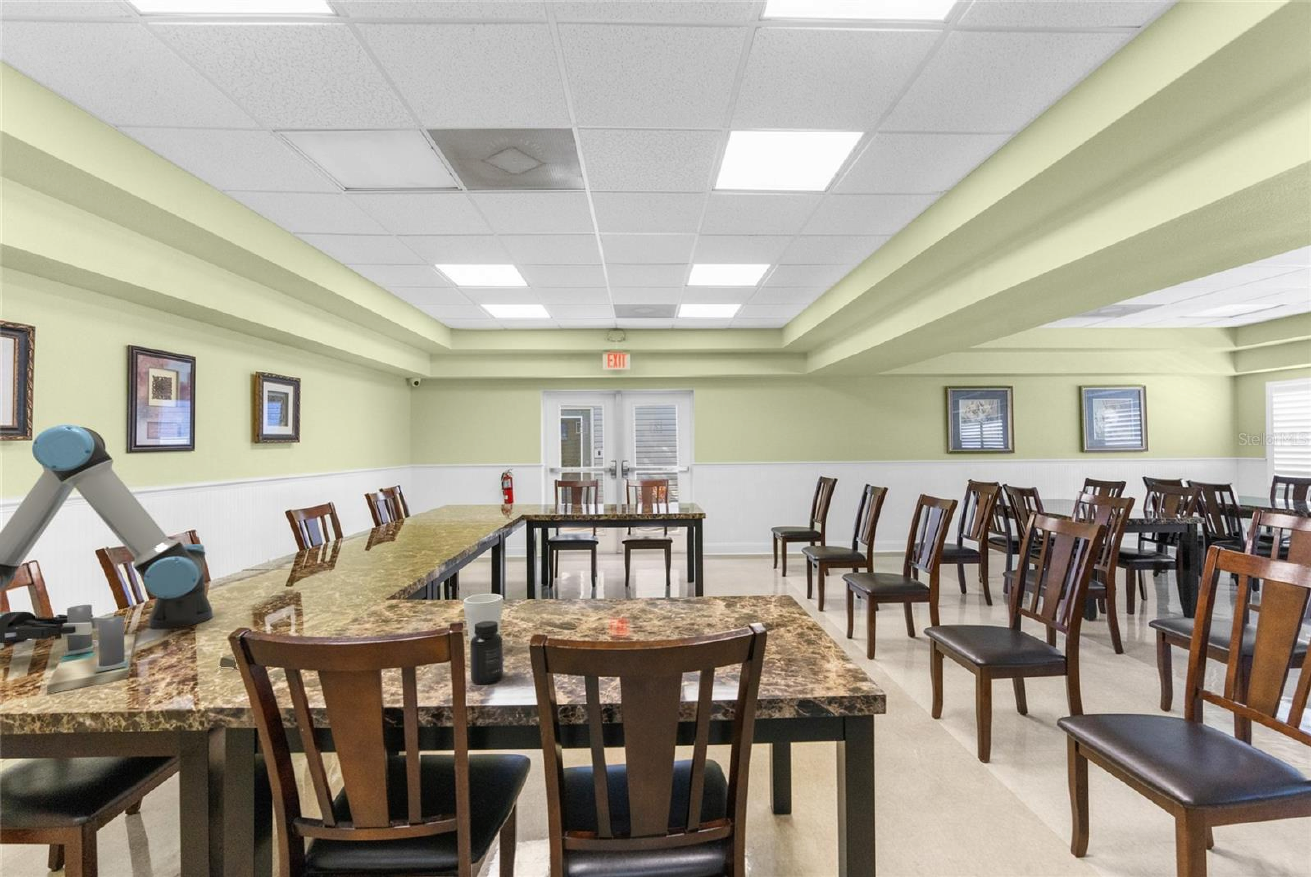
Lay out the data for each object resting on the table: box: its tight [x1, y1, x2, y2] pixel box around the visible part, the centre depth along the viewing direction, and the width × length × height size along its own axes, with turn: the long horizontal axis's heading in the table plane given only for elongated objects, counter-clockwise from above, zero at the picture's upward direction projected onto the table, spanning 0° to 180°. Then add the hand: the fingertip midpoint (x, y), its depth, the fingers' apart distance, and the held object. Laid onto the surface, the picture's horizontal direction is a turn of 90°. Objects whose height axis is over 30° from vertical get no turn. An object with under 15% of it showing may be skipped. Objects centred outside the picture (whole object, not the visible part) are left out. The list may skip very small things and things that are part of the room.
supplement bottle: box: [469, 621, 504, 686], centre depth 131 cm, size 7×7×12 cm
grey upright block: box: [64, 604, 95, 656], centre depth 149 cm, size 5×5×11 cm
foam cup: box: [462, 593, 504, 644], centre depth 149 cm, size 10×9×13 cm
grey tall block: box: [96, 615, 127, 672], centre depth 137 cm, size 5×5×11 cm
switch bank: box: [46, 633, 137, 695], centre depth 146 cm, size 13×36×2 cm, turn 39°
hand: (100, 625), depth 149 cm, fingers closed on grey upright block, 4 cm apart
